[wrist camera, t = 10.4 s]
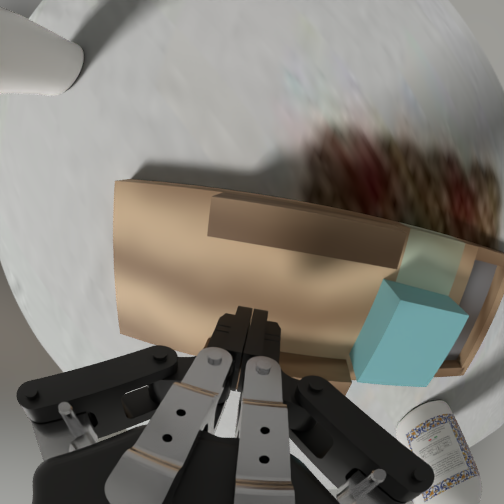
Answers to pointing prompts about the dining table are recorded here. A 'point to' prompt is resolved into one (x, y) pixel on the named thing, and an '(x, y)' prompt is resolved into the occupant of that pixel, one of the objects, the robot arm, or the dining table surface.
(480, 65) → the dining table surface
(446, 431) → the bath foam
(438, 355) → the block
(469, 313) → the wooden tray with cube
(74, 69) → the drinking glass
